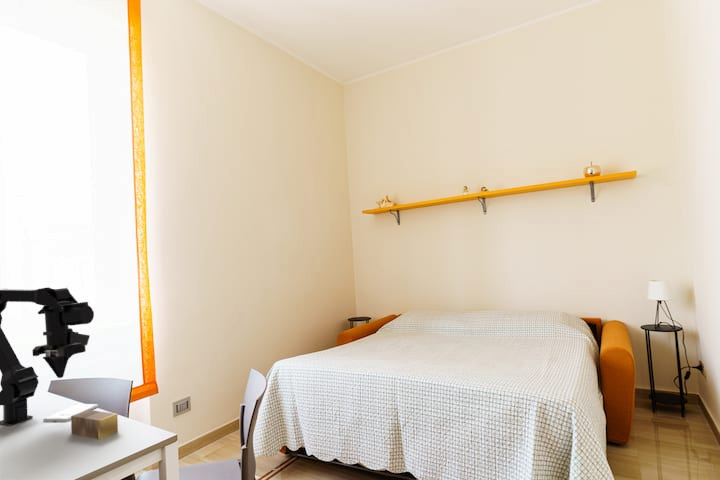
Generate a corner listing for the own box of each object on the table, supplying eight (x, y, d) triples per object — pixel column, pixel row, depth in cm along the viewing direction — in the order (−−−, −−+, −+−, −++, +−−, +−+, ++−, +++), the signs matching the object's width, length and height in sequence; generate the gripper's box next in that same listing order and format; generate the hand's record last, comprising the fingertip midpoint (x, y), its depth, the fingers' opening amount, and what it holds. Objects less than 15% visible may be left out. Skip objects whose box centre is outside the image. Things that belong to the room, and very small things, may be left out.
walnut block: (71, 416, 116) (100, 420, 111) (89, 409, 121) (117, 413, 116) (71, 434, 116) (100, 439, 111) (89, 427, 120) (117, 432, 116)
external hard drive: (98, 409, 138) (66, 423, 126) (76, 408, 139) (43, 423, 127) (98, 404, 138) (66, 418, 126) (76, 403, 140) (43, 418, 127)
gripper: (101, 321, 132) (104, 371, 131) (68, 323, 141) (71, 369, 140) (62, 328, 122) (66, 381, 121) (30, 329, 131) (33, 379, 130)
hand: (60, 377), depth 128 cm, fingers closed
